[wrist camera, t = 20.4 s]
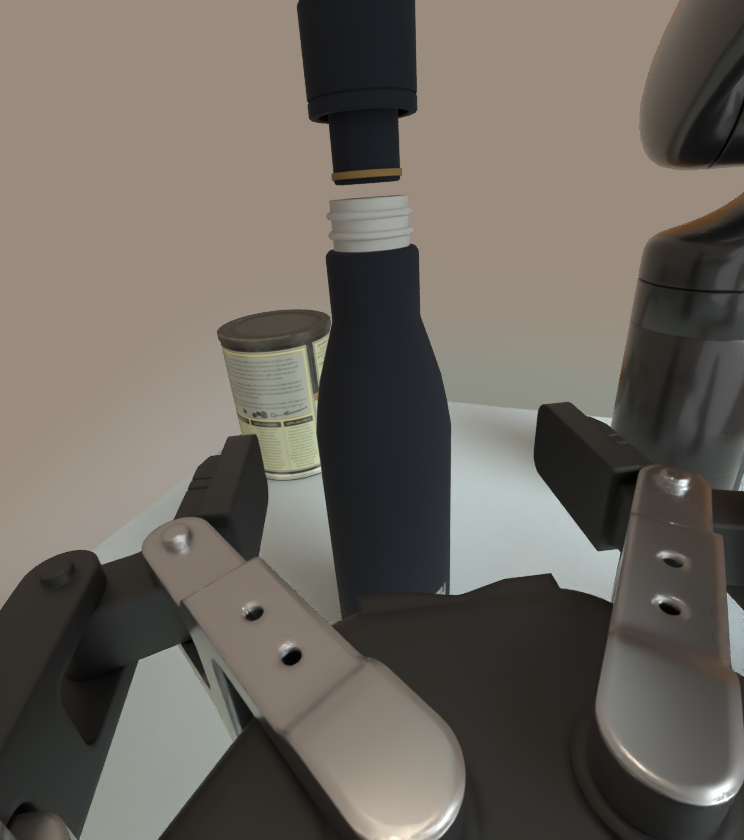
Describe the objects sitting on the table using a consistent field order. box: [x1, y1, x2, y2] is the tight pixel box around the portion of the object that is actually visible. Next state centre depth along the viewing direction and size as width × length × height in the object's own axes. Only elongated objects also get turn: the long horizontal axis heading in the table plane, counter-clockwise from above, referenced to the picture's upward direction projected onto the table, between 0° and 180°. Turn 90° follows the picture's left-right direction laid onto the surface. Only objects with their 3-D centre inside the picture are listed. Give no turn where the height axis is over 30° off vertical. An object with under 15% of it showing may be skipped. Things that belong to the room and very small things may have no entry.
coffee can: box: [217, 309, 331, 480], centre depth 46 cm, size 10×10×14 cm
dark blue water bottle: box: [297, 0, 451, 620], centre depth 22 cm, size 6×6×30 cm
